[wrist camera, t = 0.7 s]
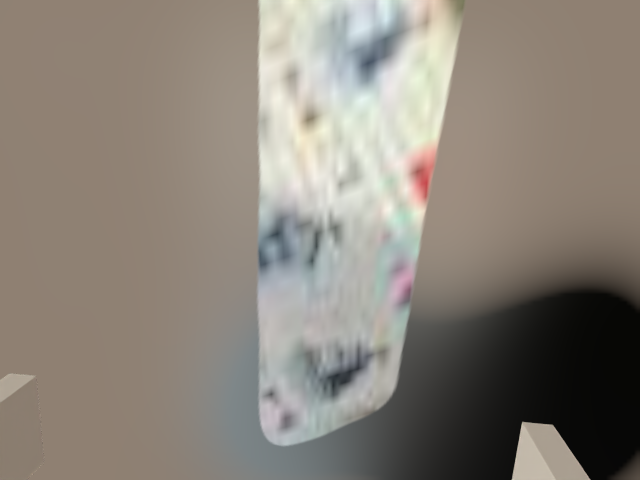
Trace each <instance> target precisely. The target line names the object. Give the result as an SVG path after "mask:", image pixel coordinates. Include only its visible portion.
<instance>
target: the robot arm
mask: <svg viewBox="0 0 640 480" xmlns="http://www.w3.org/2000/svg"><path fill="white" fill-rule="evenodd" d="M43 463H44V453H43V442H42V431H41V421H40V410H39V400H38V388H37V379H36V376H31V375H21V374H11V373H10V374H8V375H7V376H6V377H4V378H3V379H1V380H0V480H28V478H29V477H30V476H31V475H32V474H33V473H34V472H35V471H36V470H37V469H38V468H39V467H40V466H41V465H42V464H43ZM512 480H590V479H589V477H588V476H587V474H586V473H585V472H584V470H583V469H582V467H581V466H580V464H579V463H578V461H577V460H576V458H575V457H574V455H573V454H572V452H571V451H570V450H569V448H568V447H567V445H566V444H565V442H564V441H563V439H562V438H561V436H560V435H559V433H558V432H557V430H556V429H555V428H554V426H553V425H546V424H536V423H525V422H523V423H522V427H521V433H520V439H519V444H518V450H517V456H516V461H515V467H514V473H513V478H512Z"/></svg>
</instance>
